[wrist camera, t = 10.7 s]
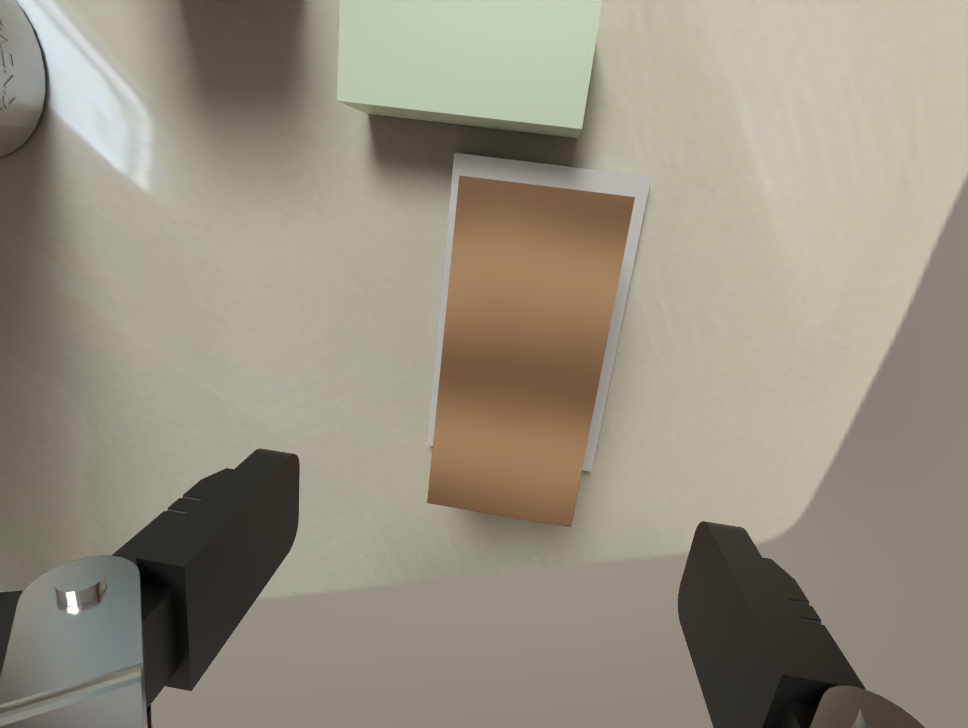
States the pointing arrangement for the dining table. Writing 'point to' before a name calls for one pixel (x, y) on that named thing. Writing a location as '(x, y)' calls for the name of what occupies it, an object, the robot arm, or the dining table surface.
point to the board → (524, 345)
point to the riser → (470, 61)
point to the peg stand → (561, 179)
